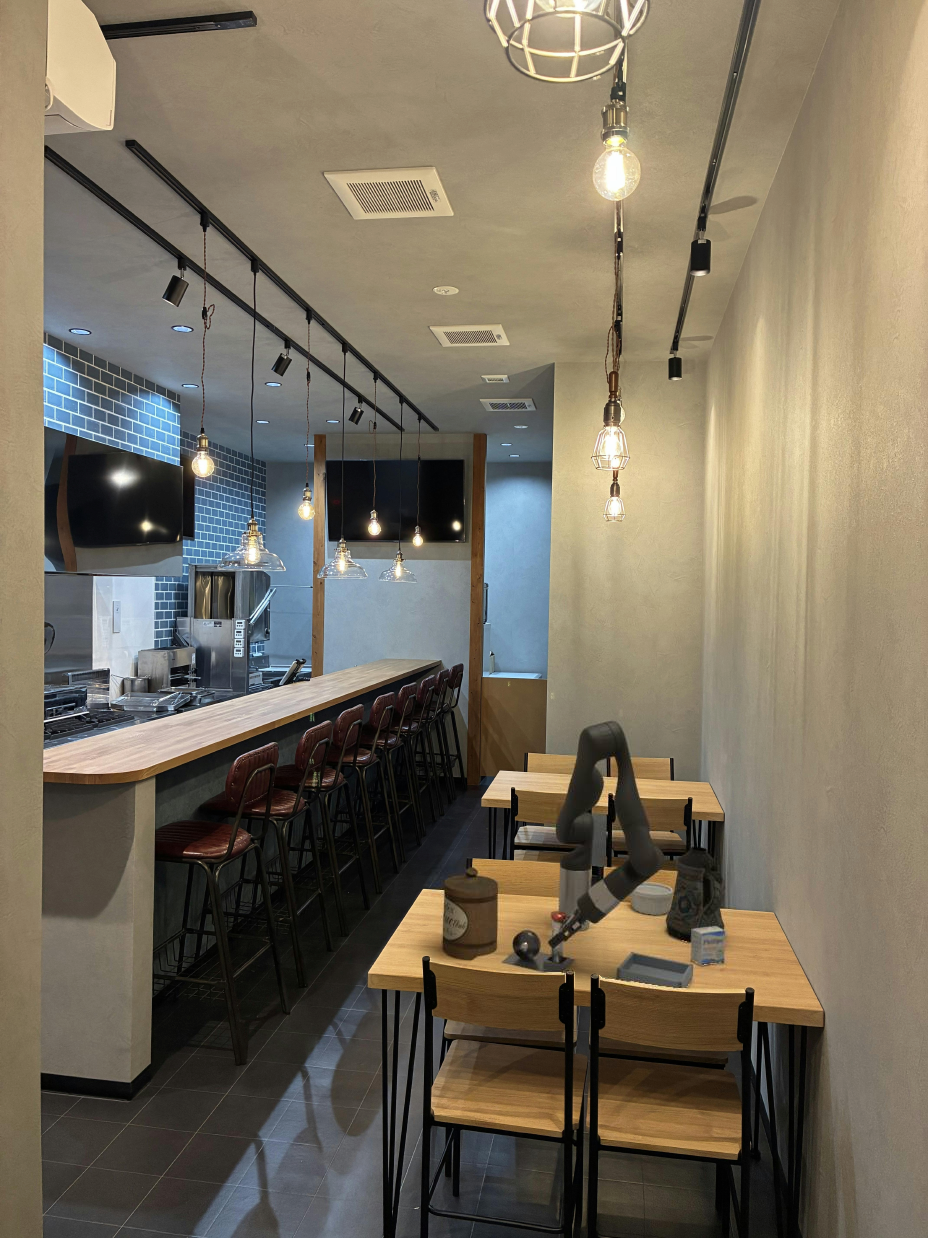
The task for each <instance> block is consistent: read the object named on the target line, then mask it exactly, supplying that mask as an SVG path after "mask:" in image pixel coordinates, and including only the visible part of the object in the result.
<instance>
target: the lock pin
mask: <svg viewBox="0 0 928 1238" xmlns="http://www.w3.org/2000/svg"><path fill="white" fill-rule="evenodd" d="M550 918H551V920H552V922H551V923H552V924H551V925H552V926H551V938H552V937H554V936H555V935H556V934H557V933H558V931H560V930H561V929H562V928H563V924H564V920H566V913H564V912H560V911H558V910H555V911H551V912H550ZM563 933H564V932H563ZM564 934H565V933H564ZM550 948H551V947H550ZM550 954H551V961H552V962H557V963H561V964H562V963H563V956H564V941H562V942H561V943H560V944H559V945H558V946H556V947H555V948H554V949H553V948H551V950H550Z"/></svg>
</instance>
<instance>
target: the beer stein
mask: <svg viewBox="0 0 928 1238" xmlns="http://www.w3.org/2000/svg"><path fill="white" fill-rule="evenodd" d="M674 863H675V864H674V865H675V868H676V871H677V874H676V879H675V883H674V888H673V889H674V890H673V895H672V899H671V906H670V910H669V911H668V912H667V915H666V918H665V924H666V931H667V933H668V935H669V936H670V937H672V938H674V939H676V940H678V939H679V941H682V940H684V941H683V942H685V941H687V942H686V943H690V942H691V929H695V928H703V927H710V926H717V927H719V928H721V929H723V930H724V931H725V923H724V920H723V916H722V911H721V906H722V904H723V901H724V900H725V895H726V884H725V881H724V879H723V876H722V874H721V873H720V872H719V871H720V865H719V864H718V862H717V861H716V860H715V859H714V858H713V857H712V856H711V855H710V854H709V852H708V850H707V849H706V848H705V847H701V846H691V848H690V849H689V850H688V851H687V852H686V853H684V854H682V855H680V856H679V857H678V858H677V859H676V860H675V862H674Z"/></svg>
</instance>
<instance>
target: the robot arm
mask: <svg viewBox="0 0 928 1238" xmlns="http://www.w3.org/2000/svg"><path fill="white" fill-rule="evenodd" d="M577 745H578V746H577V751H576V760H575V763H574V768H573V771H572V775H571V778H570V780H569V783H568V788H567V791H566V795H565V800H564V802H563V805H562V807H561V809H560V811H559V814H558V817H557V819H556V823H555V836H556V839H557V840H558V842H559V843H561V844H563V845H578V847H576V848H575V849H574V850H572V851H570V852H567V853H564V854H563V855H561V856H560V859H559V883H558V884H559V885H558V886H559V887H558V910H557V911H560V912H564V913H566V920H564V924H563V928H562V929H561V930H560V931H558V933H557V934H556V935H555V936H554V937H552V936H551V938H550V939H549V940H548V941H547V944H548V945H549V946H550V948H553V949H554V948H555V947H556V946H558V945H559V944H560V943H561V942H562V941H563V942H567V941H568V940H569V939H570V938H572V937H573V936H574V935H575V934H576V933H577V932H578V931H584V930H588V929H589V928H590V923H592V924H593V925H595V924H596V925H597V924H598V923H599V922H601V920H603V919H604V918H605V917H607V916H608V915H609V914H610V913H611V912H612V911H614V910H615V909H616V908H618V906H619V905H620V904H621V902H623V901H624V900H625V899H627V898H628V897H629V896H631V893H632V892H633V891H634V890H635V889H636V888H637V887H638V886H639V885H641V884H642V883H643V882H646V881H648V880H649V879H651V878H652V877H653V876H654V875H656V874H657V873H658V872H659V871H661V870H662V868H663V867H664V864H665V856H664V852H663V851H662V850H661V849H660V848H659V847H658V846H657V845H654V843H653V840H652V837H651V834H650V832H651V826H650V822H649V819H648V816H647V814H646V811H645V808H644V805H643V802H642V800H641V797H640V793H639V791H638V790H639V789H638V786H637V782H636V775H635V772H634V766H633V763H632V757H631V755H630V754H631V753H630V749H629V744H628V742H627V737H626V735H625V732H624V729H623V728H622V726H621V725H620V724H619V723H618V722H617V721H615V720H607V721H604V722H600V723H597V724H593V725H589V726H587V727H585V728H584V729H582V731H581V732H580V734H579V738H578V744H577ZM610 758H614V759H615V762H616V767H617V782H616V787H615V793H614V803H613V805H614V810H615V814H616V817H617V819H618V822H619V825H620V827H621V831H622V834H623V836H624V840H625V846H626V850H627V856H628V859H627V860H626V861H624V862H623V864H621V865H618V866H617V867H616V868H614V869H613V870H611V871H609V873H608V874H607V875H605V876H604V878H602V879H600V880H599V881H597V882H595V883H594V885H592V883H591V882H592V862H593V847H594V837H595V836H594V835H595V820H594V817H593V815H592V814H591V813H590V812H589V811H591V809H593V808H594V807H595V806H596V805H597V804H598V803H599V801H600V799H601V797H602V794H603V791H604V787H605V781H604V777H603V774H602V773H601V771H600V770H599V769H598V768H597V767H596V765H597V764H598V763H599V762H600V761H603V760H607V759H610ZM563 932H564V933H563ZM566 933H568V934H566Z"/></svg>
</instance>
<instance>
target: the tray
mask: <svg viewBox="0 0 928 1238" xmlns="http://www.w3.org/2000/svg"><path fill="white" fill-rule="evenodd" d="M692 977H693V978H694V964H693V963H692V964H691V963H687V962H681V961H677V960H673V959H667V958H662V957H658V956H657V957H656V956H652V955H647V954H642V953H639V952H638V953H637V952H633V951H631V952H630V953H629V954H628V955H627V956H626V958H624V960H623V961H622V962H621V964H620V965H619V966H618V967H617V969H616V980H618V979H621V980H620V981H622V980H626V981H625V982H627V981H634V982H639V983H645V984H652V985H658V986H666V987H673V988H687V989H688V987H689V986H688V984H689V983H690V984H691V982H692V981H691V979H692ZM692 980H693V979H692ZM690 981H691V982H690ZM690 984H689V985H690ZM687 986H688V987H687Z"/></svg>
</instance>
